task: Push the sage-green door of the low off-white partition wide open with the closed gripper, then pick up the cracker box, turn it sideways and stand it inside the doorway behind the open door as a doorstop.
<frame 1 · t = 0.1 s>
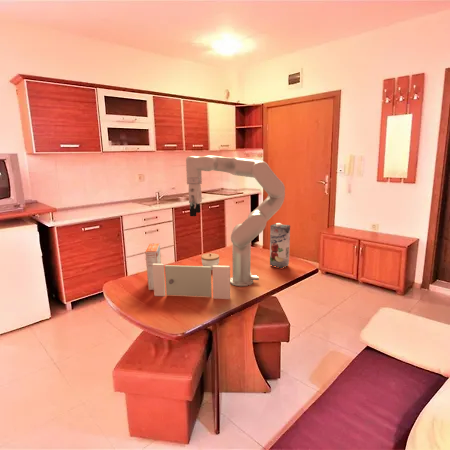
hand: (195, 214, 165), 37 cm above the table, tool pointing down, fingers open, 9 cm apart
juice carton: (279, 266, 193), on the table
door frame: (213, 297, 152), on the table
lidded jar: (210, 268, 191), on the table
cracker box: (155, 285, 168), on the table
door: (187, 281, 151), point 8 cm above the table, hinge at 0.0°
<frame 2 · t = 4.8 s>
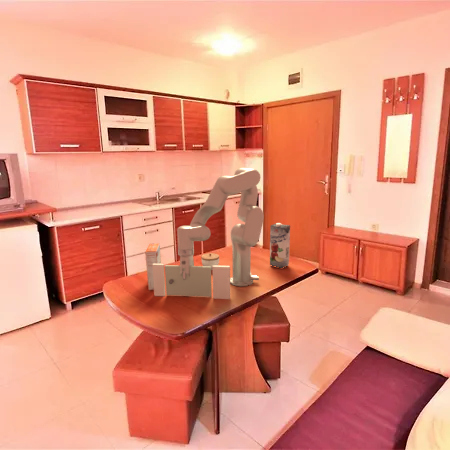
hand: (187, 286, 157), 3 cm above the table, tool pointing down, fingers closed
door: (187, 281, 151), point 8 cm above the table, hinge at 0.1°, touching gripper
everything else where it was.
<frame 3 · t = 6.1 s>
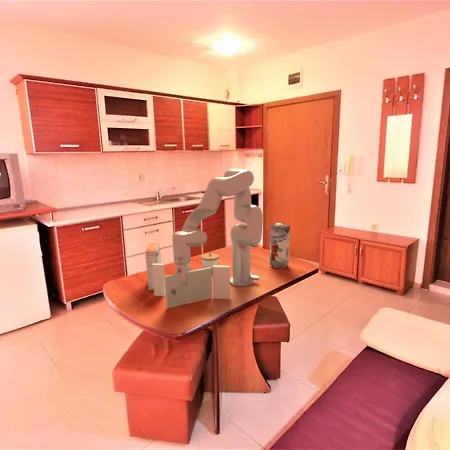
hand: (184, 295, 149), 3 cm above the table, tool pointing down, fingers closed
door: (190, 287, 144), point 8 cm above the table, hinge at 35.0°, touching gripper
everything else where it was.
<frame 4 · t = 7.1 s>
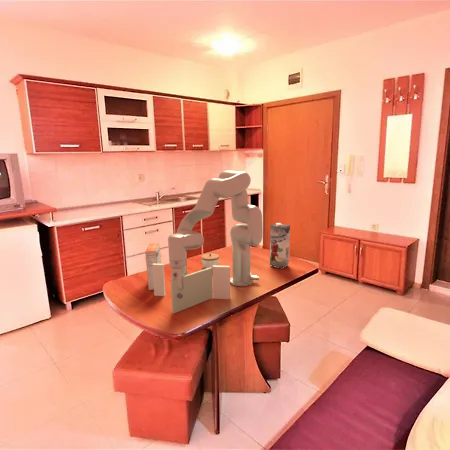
hand: (180, 300, 143), 3 cm above the table, tool pointing down, fingers closed
door: (193, 289, 142), point 8 cm above the table, hinge at 49.8°, touching gripper
everything else where it was.
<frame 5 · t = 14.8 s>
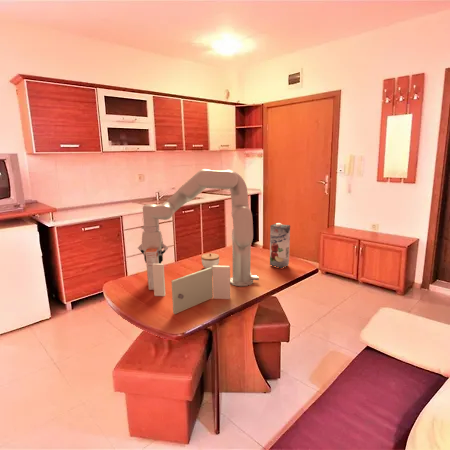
hand: (153, 261, 165), 13 cm above the table, tool pointing down, fingers closed on cracker box, 6 cm apart
cracker box: (155, 285, 168), on the table, touching gripper
door: (194, 290, 142), point 8 cm above the table, hinge at 51.5°
everything else where it was.
when the fingers open (14 cm above the table, at t = 22.6 s): cracker box drops 1 cm, on the table.
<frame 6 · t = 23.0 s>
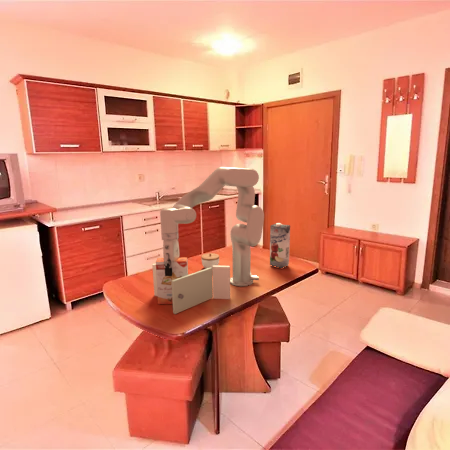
hand: (171, 271, 145), 15 cm above the table, tool pointing down, fingers open, 9 cm apart
cracker box: (173, 302, 149), on the table
everything else where it was.
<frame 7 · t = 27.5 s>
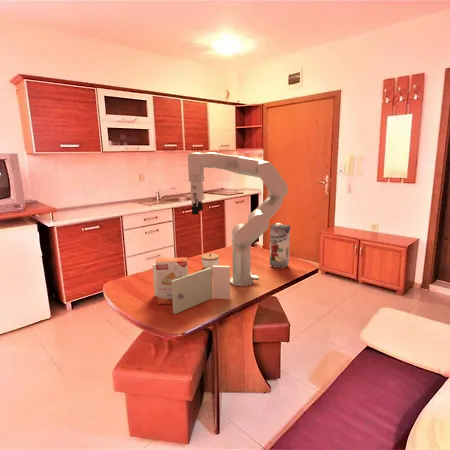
hand: (197, 212, 161), 38 cm above the table, tool pointing down, fingers open, 9 cm apart
nothing on the table moved.
at the end: door at +52° (first picture: +0°); cracker box inside the target area on the table beside the door frame (0.3 cm from its centre), on the table; cracker box tilted 0° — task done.
